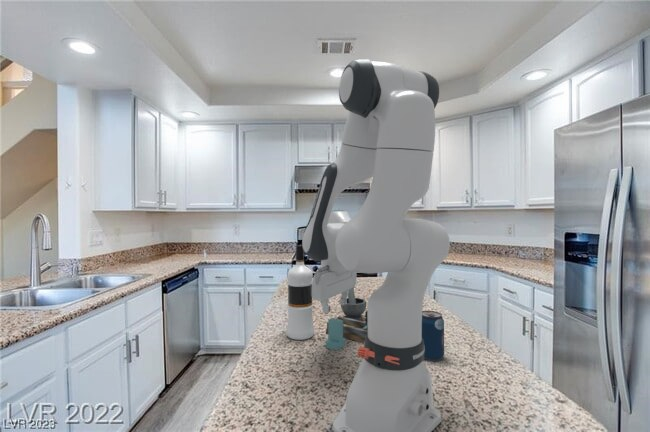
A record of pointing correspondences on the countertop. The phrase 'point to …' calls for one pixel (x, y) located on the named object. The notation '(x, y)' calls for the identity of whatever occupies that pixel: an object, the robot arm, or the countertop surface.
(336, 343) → the teal t-block
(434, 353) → the soda can
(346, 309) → the mortar and pestle
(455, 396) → the countertop surface
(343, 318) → the rail
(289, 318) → the vodka
